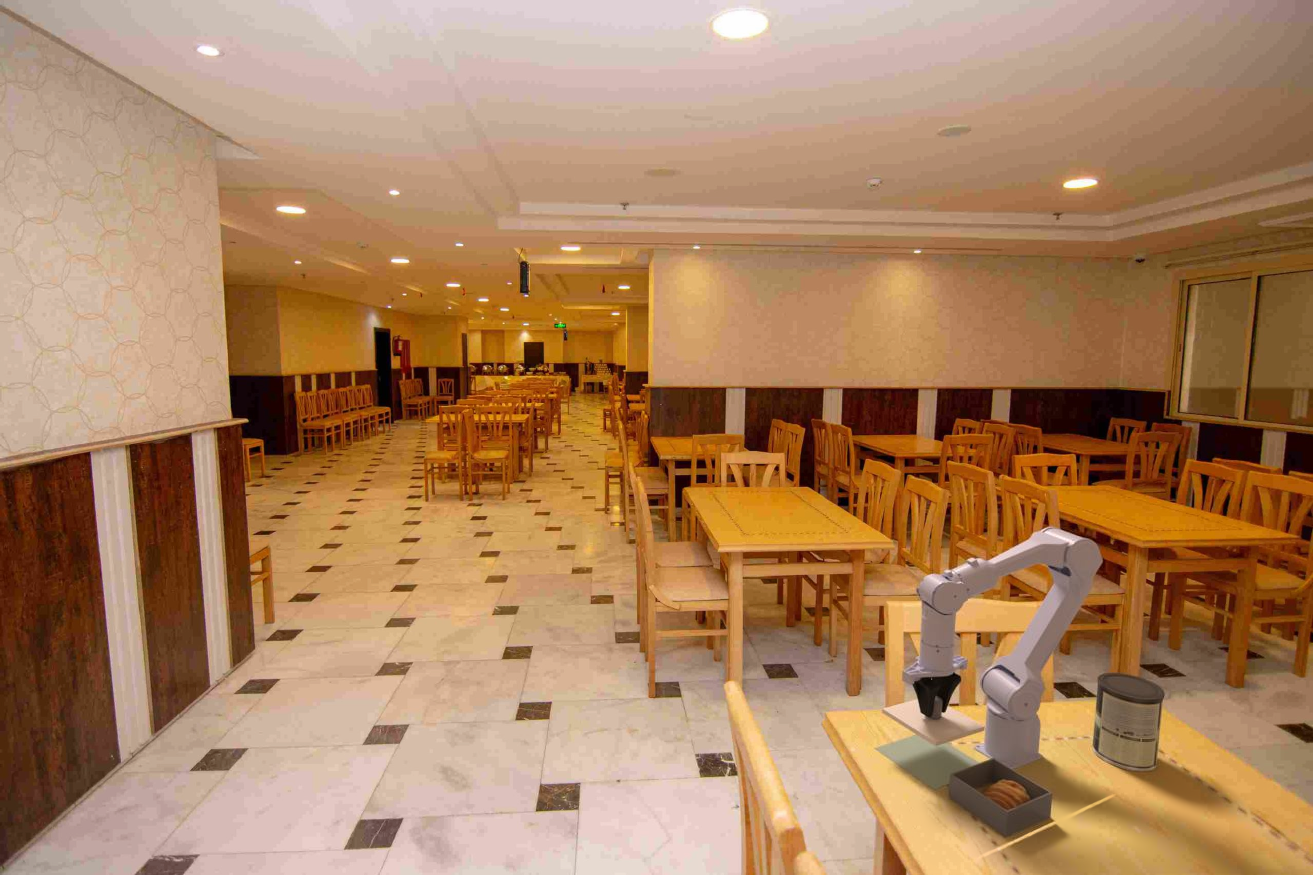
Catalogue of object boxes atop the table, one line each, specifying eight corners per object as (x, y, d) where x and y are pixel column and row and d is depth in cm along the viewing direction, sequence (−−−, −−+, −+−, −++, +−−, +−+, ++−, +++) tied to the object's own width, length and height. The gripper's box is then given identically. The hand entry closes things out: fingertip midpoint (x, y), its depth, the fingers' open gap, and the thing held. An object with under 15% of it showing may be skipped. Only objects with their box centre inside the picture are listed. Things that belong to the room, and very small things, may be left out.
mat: (927, 732, 137) (927, 730, 137) (988, 770, 125) (989, 768, 125) (874, 750, 131) (874, 748, 131) (933, 791, 119) (933, 789, 119)
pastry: (1009, 835, 108) (1011, 812, 108) (967, 813, 114) (968, 791, 113) (1035, 810, 114) (1036, 789, 114) (994, 791, 119) (995, 770, 119)
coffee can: (1079, 741, 135) (1085, 672, 133) (1131, 740, 135) (1137, 671, 133) (1115, 772, 125) (1122, 698, 123) (1171, 772, 125) (1179, 698, 123)
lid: (929, 699, 135) (930, 678, 135) (984, 730, 124) (986, 707, 124) (882, 712, 130) (883, 690, 129) (935, 746, 119) (937, 722, 118)
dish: (991, 782, 121) (993, 757, 121) (1050, 819, 112) (1052, 792, 111) (948, 799, 117) (949, 774, 116) (1005, 839, 107) (1007, 812, 106)
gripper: (947, 626, 132) (943, 694, 134) (890, 640, 126) (887, 711, 127) (979, 640, 126) (974, 711, 127) (921, 655, 119) (917, 729, 121)
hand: (933, 712), depth 127 cm, fingers closed on lid, 3 cm apart
